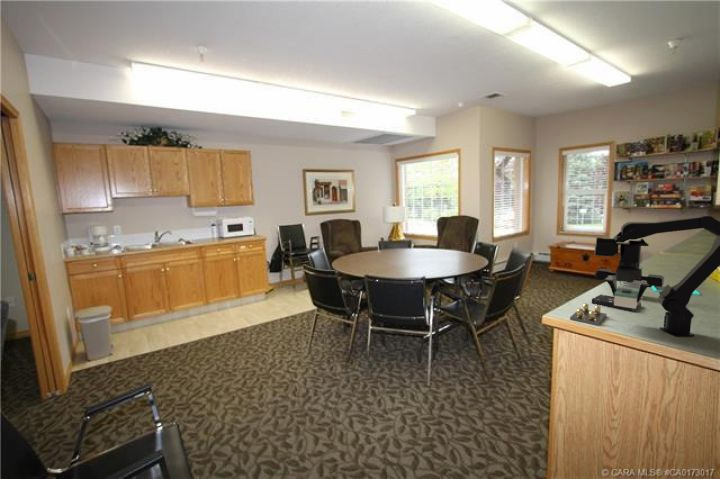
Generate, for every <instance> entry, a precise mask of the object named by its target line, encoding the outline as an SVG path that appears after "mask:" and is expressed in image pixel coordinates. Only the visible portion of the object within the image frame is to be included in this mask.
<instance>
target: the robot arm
mask: <svg viewBox="0 0 720 479" xmlns="http://www.w3.org/2000/svg"><path fill="white" fill-rule="evenodd" d="M697 229H698V230H700V229H704V230H706V231H708V232H709V233H710V234H712V235H715V236H716V238H715V239H714V241H713V243H712V246H711V248H710V250H709V251H708V252H707V253H706V254H705V255H704V256H703V257H702V258H701V260H700V261H698V262H697V263H696V264H695V265H694V267H693V268H691V269H690V271H688V272H687V274H686V275H685V276H684V277H683V278H682V279H681V280H680V281H679V282H678V283H676V284H675V285H672V286H671V285H669V284H666V285H665V286H666V287H665V288H664V290H663V291H661V292H658V294H659V295H658V302H659V304H660V305H661V306H662V308H663V309H664V310H665V315H664V317H663V318H664V319H663V327H662V326H661V327H659V330H660V331H663V332H665V333H667V334H670V335H671V336H674V337H695V333H692V332H691V327H692V320H693V318H694V316H695V315H694V313H693V312H692V311H691V310H690V309H689V308H688V307H687V306H688V304H689V302H690V301H691V298H692V296H693V295H692V293H693V292H694V291H695V290H696V291H697V289H698V288H699V287H700V286H701V285H702V284H703V283H704V282H705V281H706V280H707V279H708V278H709V277H710V276H711V275H712V274H713V273H715V271H716V270H717V269H718V268H719V267H720V220H717V219H716V218H715V217H713V216H710V215H707V214H703V215H702V214H701V215H698V216H691V217H686V218H684V217H683V218H677V219H669V220H661V221H627V222H625V223H624V224H623V225H621V228H620V231H619V232H618V233H617V234H616V235H615V236H614V237H613V238H610V237H599V236H598V237H596V239H595V240H596V241H595V245H594V256H595V257H598V256H599V257H610V258H612V257H614V256H616V255H618V253H619V259H618V260H619V261H618V265H617V267H616V270H615V272H613V271H612V269H610V268H609V269H608V268H601V267H600V268H599V269H597V270H596V271H595V273H594V274H595V275H594V278H595V279H600V280H601V279H602V280H603V282H607V284H608V285H609V287H610V290H611V292H612V297H614V296H615V292H616V290H617V288H618V283H617V282H620V281H625V282H626V283H627V282H628V283H632V282H633V281H634V280H637V281H642V283H641V284H640V289H639V293H638V297H637V302H641V300H642V299H641V297H642V296H643V295H644V293H645V291H646V290H647V288H651V287H652V286H664V284H665V277H664V276H663V275H660V274H652V273H651V274H648V275H643V271H642V270H643V269H639V266H641V252H642V247H649V243H647V242H646V241H645V239H644V238H646V237H650V236H652V235H656V234H664V233H665V234H666V233H673V232H681V231H689V230H691V231H692V230H697ZM638 239H639V240H638Z"/></svg>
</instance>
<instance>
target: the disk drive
mask: <svg viewBox="0 0 720 479" xmlns="http://www.w3.org/2000/svg"><path fill="white" fill-rule="evenodd" d="M591 304H593V305H596V304H597V305H596V306H601V305H602V306H601V307H605V306H606V308H612V309H614V310H615V309H616V310H620V311H625V312H631V313H634V312H635V311H637V310H639V309H640V308H642V302H641V301H639V302H638V303H637V306H636V309H634V308H628V307H622V306H615V305H614V296H613V295H606V294H599V295H597V296H595V297H593V298H591Z"/></svg>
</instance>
